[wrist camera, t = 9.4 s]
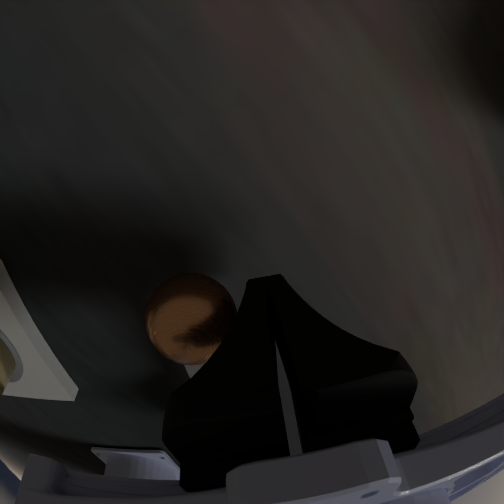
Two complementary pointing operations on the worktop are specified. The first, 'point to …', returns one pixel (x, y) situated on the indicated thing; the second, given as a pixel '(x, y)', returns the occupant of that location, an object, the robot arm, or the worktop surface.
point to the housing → (5, 365)
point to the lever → (189, 318)
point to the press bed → (29, 351)
